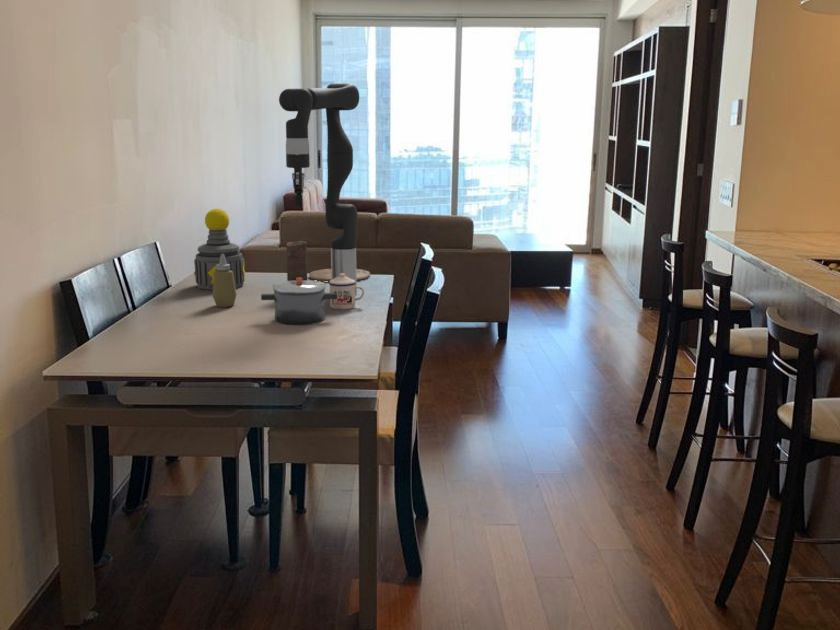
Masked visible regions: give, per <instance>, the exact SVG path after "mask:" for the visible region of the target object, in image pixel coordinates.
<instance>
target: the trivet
mask: <svg viewBox="0 0 840 630" xmlns="http://www.w3.org/2000/svg"><path fill="white" fill-rule="evenodd" d="M356 273H357V282H361V281H360V280H363V281H366V280H368V278H369V277H370V278H371V272H370V271H368V270H366V269H359V268H356ZM308 275H309V277H308V278H309V279H310V278H311V279H313V280H312V281H314V280H317V281H328V282H330V280H332V275H331V268H324V269H317V270H313V271H311V272H309V274H308ZM311 279H310V280H311ZM365 279H366V280H365ZM328 282H327V283H328Z"/></svg>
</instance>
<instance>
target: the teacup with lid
mask: <svg viewBox="0 0 840 630" xmlns="http://www.w3.org/2000/svg"><path fill="white" fill-rule="evenodd" d="M355 283H356V282H355V280H353V279H350V278H348V277H346V276H345V274H344V273H341V274H339V277H336V278H335V279H333V280H330V282H329V283H328V285H329V293H337V299H329V301H330V302H329V306H330V308H331V309H333V310H339V309H340V310H351V309H354V308H355V307H356V301H360V300H361V299H363V297H364V295H365V289H364V288H363V287H362V286H360V285H357V286H355ZM355 288H357V289H360V290H361V292H362V293H361V295H360V296H359V297H356V294H355Z"/></svg>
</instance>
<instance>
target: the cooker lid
mask: <svg viewBox="0 0 840 630" xmlns="http://www.w3.org/2000/svg"><path fill="white" fill-rule="evenodd" d="M272 290H273V292H274V291H276V292H279V293H288V294H304V293H314V292H319V291H322V290H326V282H319V281H314V280H311V279H310V280H308V279H307V280H302V278H301V277H298V278H296V280H294V281H287V280H285V281H279V282H276V283H274V284H273V285H272Z"/></svg>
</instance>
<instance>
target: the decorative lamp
mask: <svg viewBox="0 0 840 630" xmlns="http://www.w3.org/2000/svg"><path fill="white" fill-rule="evenodd" d="M229 217H230V216H229V215H228V213H227V212H226V211H225V210H223V209H221V208H213V209H210V210H209V211H207V213H206V215H205V217H204V224H205V226H206V228H207V229H208V234H207V240H206V243H203V244H201V245H199V246H198V247H197V252H198V253H196V255H195V258H194V261H193V263H194V272H193V275H194V277H195V283H196V285H197V287H198V288H199V289H201V290H204V291H205V290H206V291H213V278H214V272H215V271H217V270H216V265H217V264H219V261H220V255H221V254H224V255H225V259H226V263H227V264H230V270H231V271H233V275H234V281H235V287H236V289H238V288H239V289H240V288H241V287H242V286H244V283H245V281H246V280H245V277H246V270H245V259H244V257H243V253H242V252H240V245H238V244H236V243H233V242H231V241H230V239H229V235H228V234H227V233H228V231H227V229H228V227H229V224H230V218H229Z"/></svg>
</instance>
